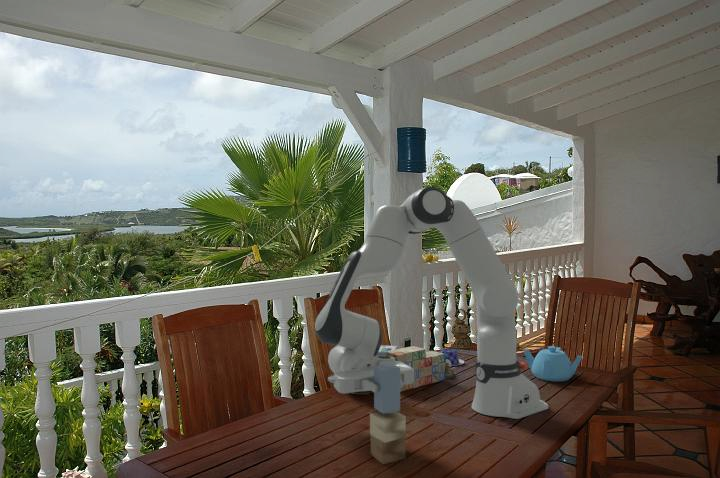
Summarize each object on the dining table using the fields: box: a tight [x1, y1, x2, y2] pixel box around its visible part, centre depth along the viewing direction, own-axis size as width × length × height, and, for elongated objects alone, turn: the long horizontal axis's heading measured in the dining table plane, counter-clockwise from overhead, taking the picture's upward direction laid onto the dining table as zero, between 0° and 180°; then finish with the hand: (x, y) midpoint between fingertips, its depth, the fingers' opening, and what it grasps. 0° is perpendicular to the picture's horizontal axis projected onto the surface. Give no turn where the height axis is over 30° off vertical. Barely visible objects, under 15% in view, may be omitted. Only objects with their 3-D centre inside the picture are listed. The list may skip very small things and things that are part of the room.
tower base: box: [370, 435, 406, 465], centre depth 130 cm, size 6×6×5 cm
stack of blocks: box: [386, 345, 446, 393], centre depth 187 cm, size 21×6×12 cm, turn 127°
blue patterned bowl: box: [440, 348, 465, 367], centre depth 216 cm, size 12×12×5 cm
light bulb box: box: [376, 344, 399, 356], centre depth 194 cm, size 11×7×11 cm, turn 168°
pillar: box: [373, 364, 401, 414], centre depth 129 cm, size 4×4×10 cm
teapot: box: [523, 345, 583, 383], centre depth 195 cm, size 15×15×11 cm
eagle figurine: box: [445, 359, 456, 380], centre depth 198 cm, size 8×7×9 cm
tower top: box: [369, 410, 407, 443], centre depth 130 cm, size 6×6×5 cm
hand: (388, 386), depth 129 cm, fingers closed on pillar, 4 cm apart
